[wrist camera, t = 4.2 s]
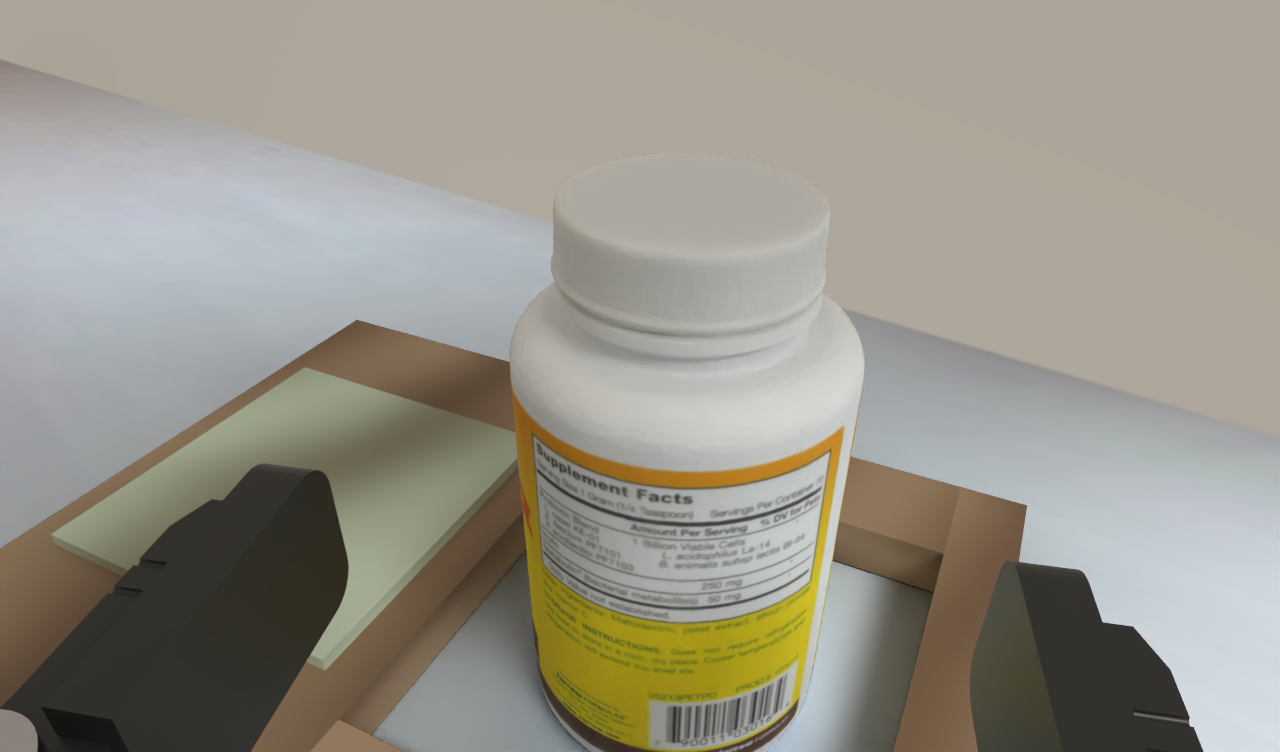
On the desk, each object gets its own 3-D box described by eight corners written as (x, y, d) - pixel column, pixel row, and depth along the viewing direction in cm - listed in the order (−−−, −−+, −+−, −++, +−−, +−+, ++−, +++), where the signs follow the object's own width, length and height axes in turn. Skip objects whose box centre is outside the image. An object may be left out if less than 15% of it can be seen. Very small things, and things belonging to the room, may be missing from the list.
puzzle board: (1014, 543, 21) (1030, 495, 20) (895, 1282, 10) (918, 1245, 10) (363, 352, 28) (355, 311, 27) (-105, 674, 18) (-140, 623, 17)
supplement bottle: (636, 537, 21) (642, 114, 16) (851, 641, 19) (949, 178, 13) (477, 698, 17) (409, 210, 12) (721, 858, 15) (781, 329, 9)
